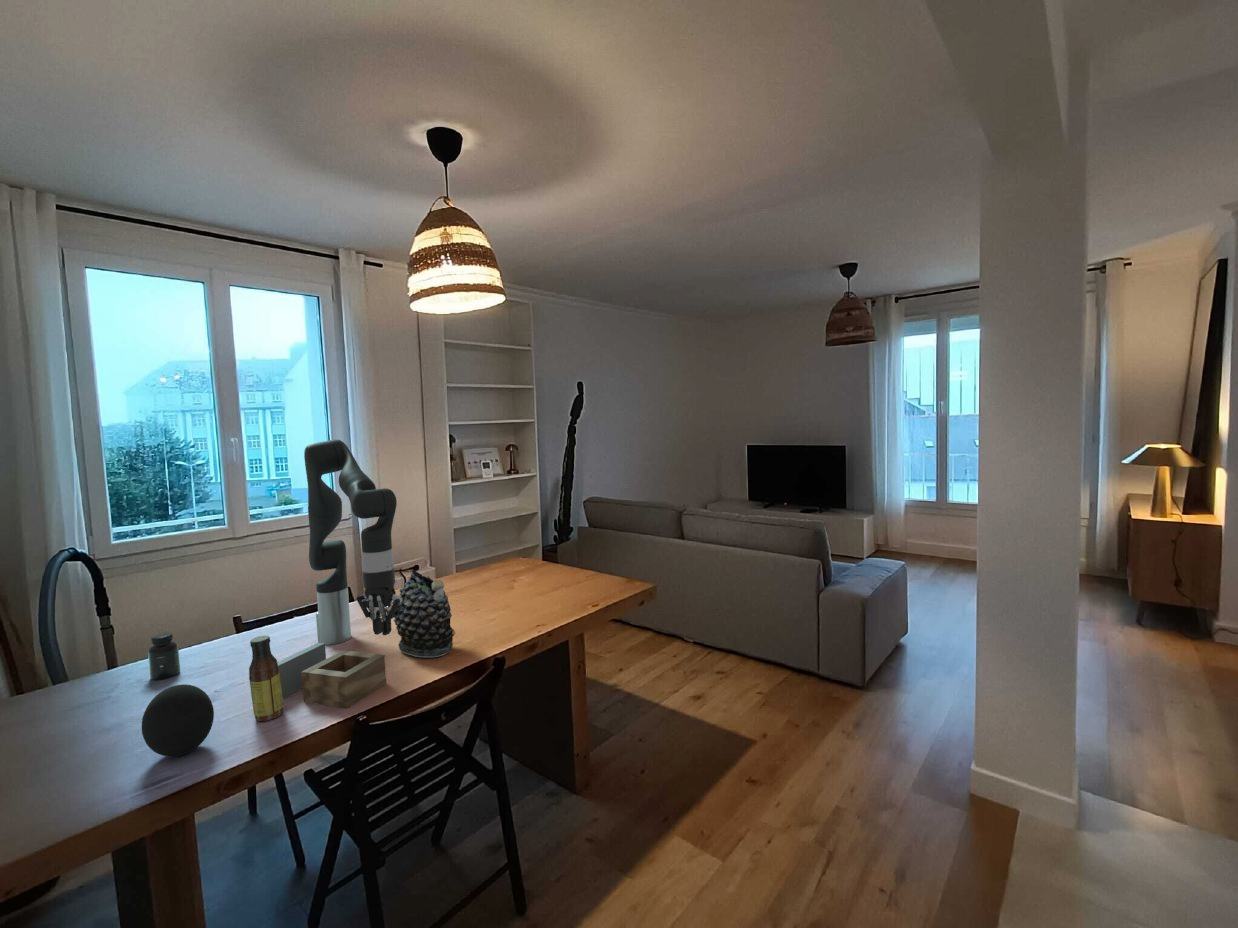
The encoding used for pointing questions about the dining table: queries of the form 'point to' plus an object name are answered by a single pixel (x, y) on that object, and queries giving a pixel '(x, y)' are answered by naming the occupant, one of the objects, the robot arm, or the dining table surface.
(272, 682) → the sauce bottle
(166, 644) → the supplement bottle
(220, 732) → the dining table surface
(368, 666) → the open wooden box
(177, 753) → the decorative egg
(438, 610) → the scaly dragon egg
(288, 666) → the backstop
